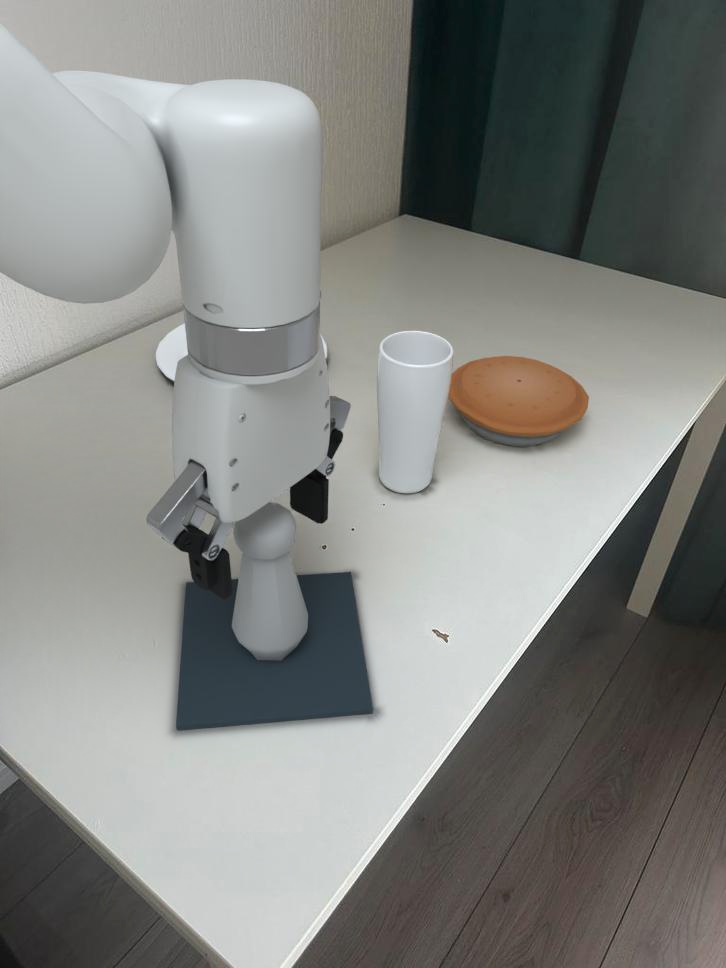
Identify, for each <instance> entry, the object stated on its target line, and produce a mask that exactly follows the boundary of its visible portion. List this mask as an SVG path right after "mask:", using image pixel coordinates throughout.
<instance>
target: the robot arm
mask: <svg viewBox="0 0 726 968" xmlns="http://www.w3.org/2000/svg"><path fill="white" fill-rule="evenodd" d="M322 172H323V125H322V120H321V116H320V111H319V109H318V108H317V106H316V104H315V103H314V101H313V100H312V99H311V98H310V96H308V95H307V94H306V93H305V92H303V91H301V90H299V89H297V88H294V87H292V86H289V85H287V84H283V83H279V82H274V81H267V80H260V79H247V78H245V79H244V78H228V79H213V80H212V79H211V80H207V81H201V82H196V83H194V84H182V83H173V82H165V81H157V80H149V79H144V78H137V77H130V76H125V75H120V74H119V75H118V74H113V73H107V72H102V71H101V72H100V71H94V70H93V71H92V70H78V69H77V70H73V69H70V70H61V71H55V72H51V71H50V70H49V69H48V68H47V67H46V66H45V65H44V64H43V63H42V62H41V61H40V60H39V59H38V58H37V57H36V56H35V55H34V54H33V53H32V52H31V51H29V49H27V47H25V45H23V44H22V43H21V42H20V40H18V39H17V38H16V37H15V36H14V35H13V33H11V32H10V31H9V30H8V29H7V27H6V26H5V25H4V24H2V22H0V274H3V275H4V276H5V277H7V278H9V279H11V280H13V281H14V282H15V283H17V284H19V285H21V286H23V287H25V288H28V289H30V290H32V291H34V292H36V293H39V294H41V295H43V296H46V297H48V298H49V297H50V298H53V299H56V300H58V301H63V302H67V303H76V304H82V305H86V304H102V303H108V302H111V301H115V300H119V299H121V298H123V297H125V296H128V295H130V294H132V293H134V292H135V291H137V290H138V289H139V288H140V287H142V286H143V285H144V284H146V283H147V282H148V281H149V280H150V279H151V277H152V276H153V275H154V274H155V273H156V271H157V270H158V269H159V268H160V265H161V264H162V262H163V260H164V258H165V256H166V253H167V251H168V248H169V245H170V242H171V237H172V232H173V235H174V238H175V239H174V240H175V245H176V254H177V264H178V265H177V266H178V274H179V283H180V291H181V303H182V310H183V320H184V323H185V330H186V339H187V351H188V355H186V356H185V357H183V358H182V359H180V360H179V361H178V363H177V368H176V374H175V380H174V382H173V390H172V401H171V403H172V404H171V444H172V445H171V447H172V450H171V451H172V464H173V474H174V482H173V483H172V485H170V487H169V488H168V489H167V490H166V491H165V493H164V494H163V495H162V497H161V498H160V499H159V500H158V501H157V503H155V505H154V506H153V508H152V509H151V510H150V511H149V513H147V516H146V518H145V523H146V525H147V526H149V528H151V529H152V530H153V531H154V532H155V533H156V534H157V535H159V536H160V537H161V539H162V540H164V541H165V542H166V543H168V544H170V545H172V546H173V547H174V548H175V549H177V550H179V551H180V552H183V553H186V554H188V562H189V569H190V577H191V579H192V582H195V583H196V585H198V586H199V587H201V588H202V589H204V590H208V589H209V590H210V591H212V592H213V593H215V594H216V595H217V596H219V597H220V598H222V599H224V600H225V599H227V598H228V597H229V596H230V595H231V594H232V568H231V558H230V557H231V556H230V553H229V551H228V550H227V549H226V548H224V545H225V543H226V541H227V538H228V536H229V534H230V533H231V530H232V528H233V527H234V524H235V522H237V521H239V520H242V519H244V518H246V517H248V516H249V515H251V514H252V513H254V512H255V511H257V510H258V509H260V508H261V507H263V506H264V505H266V504H267V503H269V502H272V501H273V500H274V499H276V498H278V497H279V496H280V495H282V494H283V493H284V492H286V491H287V490H289V506H290V508H291V509H292V511H295V512H297V513H298V514H300V515H302V516H303V517H306V518H307V519H308V520H311V521H313V522H314V523H316V524H319V525H322V524H325V522H326V521H328V519H329V490H330V489H329V488H330V487H329V486H330V480H329V479H328V478H327V477H329V476H331V475H332V474H333V473H334V471H335V469H336V461H334V460H333V459H334V457H335V454H336V453H337V451H338V449H339V448H340V446H341V443H343V438H344V432H343V431H342V429H344V428H345V425H346V423H347V419H348V416H349V414H350V411H351V406H352V405H351V402H349V401H347V400H345V399H343V398H340V397H338V396H337V395H331V394H330V393H331V392H330V383H329V373H328V365H327V359H326V358H325V352H324V347H323V342H322V338H321V336H322V335H321V324H320V323H321V298H322V291H321V256H322V255H321V253H322V252H321V250H322V247H321V246H322V243H321V242H322V193H323V191H322V186H323V185H322V183H323V182H322V181H323V173H322ZM320 335H321V336H320ZM207 513H208V514H209V515H211V516H213V517H214V518H215V520H214V521H213V523H212V526H211V528H210V530H209V532H208V533H207V532H205V531H204V530H202V529H201V526H202V524H203V522H204V520H205V517H206V515H207Z"/></svg>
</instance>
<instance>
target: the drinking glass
mask: <svg viewBox="0 0 726 968" xmlns="http://www.w3.org/2000/svg"><path fill="white" fill-rule="evenodd" d="M378 348H379V349H378V358H377V365H376V366H377V368H376V403H377V404H376V409H377V427H378V451H379V453H378V454H379V455H378V456H379V463H378V477H379V480H380V482H381V483H382V485H383V486H384V487H386V488H387V489H389V490H391V491H393V492H395V493H399V494H415V493H418V492H421V491H423V490H424V489H426V488H427V487H428V486H429V485H430V483H431V481H432V478H433V471H434V464H435V459H436V454H437V449H438V446H439V441H440V436H441V433H442V432H441V431H442V427H443V422H444V419H445V414H446V409H447V405H448V401H449V391H450V385H451V377H452V373H453V367H454V366H453V364H454V348H453V345H452V344H451V343H450V341H448V340H447V339H445V338H444V337H442V336H440V335H438V334H435V333H432V332H429V331H422V330H403V331H397V332H394V333H391V334H389V335H387V336H386V337H384V338H383V339H382V340H381V341H380V343H379V347H378Z"/></svg>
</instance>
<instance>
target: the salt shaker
mask: <svg viewBox="0 0 726 968" xmlns="http://www.w3.org/2000/svg"><path fill="white" fill-rule="evenodd" d="M232 534H233V540H234V542H235V545H236V546H237V548H238V550H239V551H240V552H241V553H242V554H241V560H240V567H239V573H238V579H239V580H238V587H237V593H236V600H235V607H234V613H233V620H232V628H233V631H234V633H235V635H236V637H237V640H238V642H239V643H240V644H242V645H243V646H244V647H245V648H246V649H248V650H249V651H250V652H251V653H252V654H253V655H254V656H255V658H256V659H257V660H279V661H281V660H282V659H284V658H285V657H286V656H287V655H288V654H289V653H290V652H291V651H293V650H294V649H295V648H296V647H297V646H298V644H299V643H300V641H301V640H302V638H303V637H304V635H305V634H306V632H307V627H308V612H307V609H306V606H305V602H304V599H303V596H302V592H301V589H300V586H299V582H298V579H297V576H296V575H297V573H296V569H295V566H294V562H293V559H292V556H291V553H290V550H291V549H292V548H293V546H294V545H295V543H296V535H297V523H296V519H295V516H294V515H293V513H292V511H291V510H290V509H288V508H287V507H285V506H283V505H281V504H279V503H277V502H272V501H270V502H269V503H267V504H266V505H264V506H263V507H261V508H260V509H258V510H257V511H255V512H254V513H252V514H251V515H249V516H248V517H246V518H244V519H242V520H239V521H237V522H234V524H233V532H232Z"/></svg>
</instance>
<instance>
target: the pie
mask: <svg viewBox="0 0 726 968" xmlns="http://www.w3.org/2000/svg"><path fill="white" fill-rule="evenodd" d="M589 399H590V396H589V394H588V393H587V391H586V390H585V388H584V386H582V385H581V384H580V383H579V382H578V381H577V380H576V379H575V378H574V377H573V376H572V375H569V374H568V373H566V372H565V371H563V370H561V369H560V368H557V367H555V366H553V365H551V364H549V363H546V362H544V361H541V360H538V359H533V358H529V357H524V356H513V355H501V356H490V357H482V358H479V359H474V360H470V361H468V362H467V363H465V364H463V365H460V366H459V367H457V368H456V369H455V370H454V371H452V377H451V385H450V391H449V396H448V400H450V402H451V403H452V404H453V405H454V406H455V408H456V410H458V413H459V414H460V416H461V418H462V420H463V421H464V423H465V424H466V425H467V426H468V427H469V430H471V431H473V432H474V433H475V434H476V435H478V436H480V437H481V438H482V439H483V438H484V439H486V440H488V441H490V442H493V443H494V444H495V443H496V444H499V445H504V446H507V447H508V446H510V447H518V448H519V447H521V448H524V447H526V448H527V447H534V446H539V445H543V444H546V443H549V442H551V441H552V440H554V439H555V438H557V437H558V436H559V435H562V433H563V432H564V431H566V430H567V429H569V428H570V427H572V426H573V425H575V424H576V423H578V422H580V421H581V420H582V419H583V418H584V416H585V415H586V412H587V410H588V407H589Z"/></svg>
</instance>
